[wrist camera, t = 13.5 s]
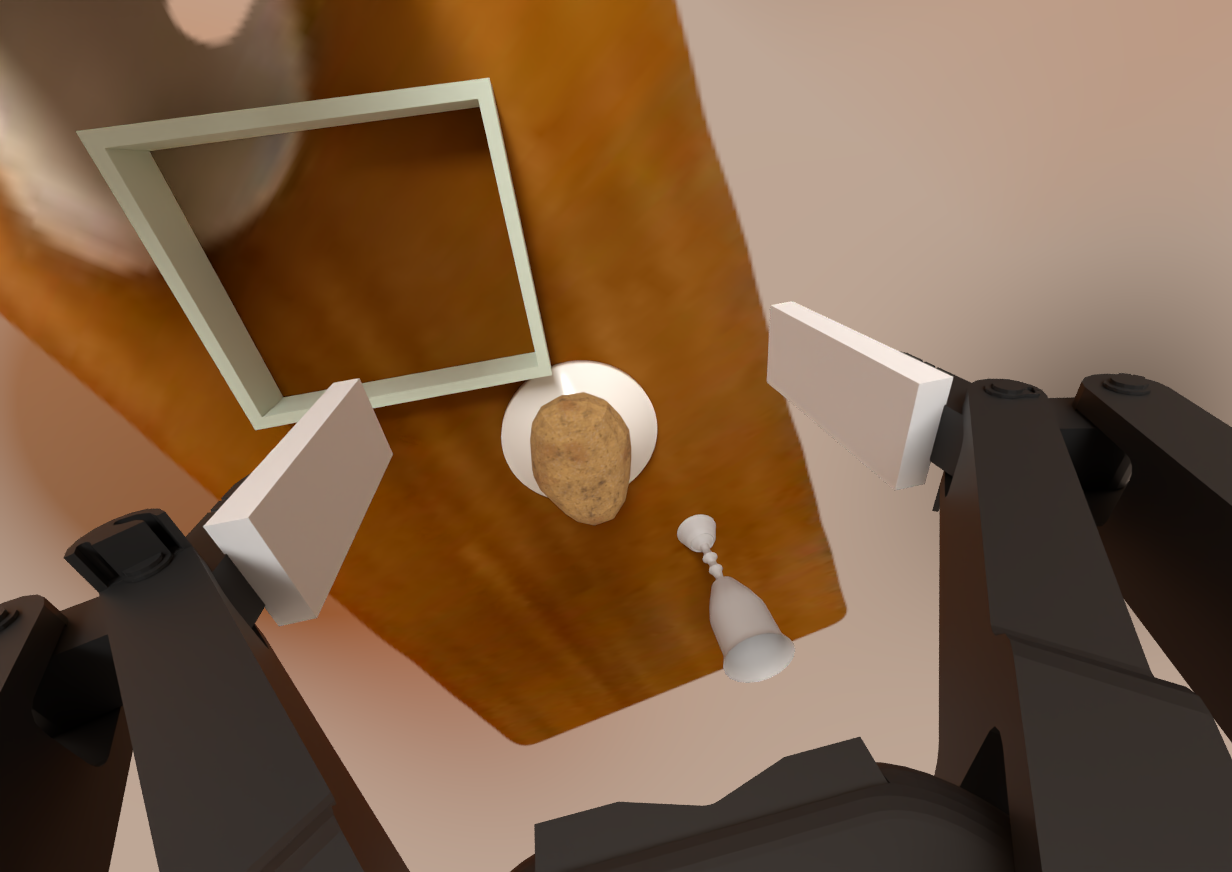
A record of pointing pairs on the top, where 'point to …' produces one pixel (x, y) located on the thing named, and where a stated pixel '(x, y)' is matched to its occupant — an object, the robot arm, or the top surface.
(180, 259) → the crate
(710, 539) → the chalice
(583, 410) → the potato
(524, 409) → the plate
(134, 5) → the top surface
